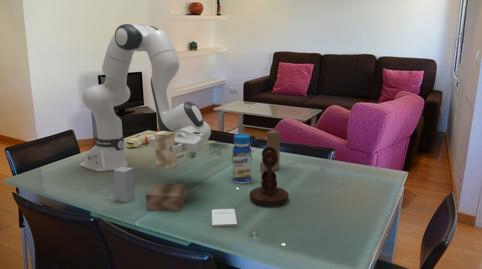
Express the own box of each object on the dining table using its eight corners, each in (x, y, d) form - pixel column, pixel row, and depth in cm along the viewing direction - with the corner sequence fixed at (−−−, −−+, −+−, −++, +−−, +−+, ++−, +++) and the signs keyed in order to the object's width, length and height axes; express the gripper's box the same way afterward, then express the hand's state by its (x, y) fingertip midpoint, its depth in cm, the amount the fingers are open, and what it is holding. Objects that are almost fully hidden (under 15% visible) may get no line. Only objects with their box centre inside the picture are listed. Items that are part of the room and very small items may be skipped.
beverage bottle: (254, 179, 185) (255, 134, 180) (246, 185, 177) (247, 138, 172) (237, 176, 188) (237, 132, 183) (228, 182, 181) (228, 136, 176)
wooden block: (267, 173, 191) (268, 134, 187) (259, 171, 194) (260, 133, 190) (279, 169, 198) (280, 131, 194) (271, 167, 201) (272, 129, 197)
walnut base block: (146, 210, 153) (146, 194, 152) (156, 197, 165) (155, 183, 163) (179, 211, 152) (179, 195, 151) (186, 198, 164) (186, 183, 162)
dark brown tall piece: (249, 192, 170) (250, 143, 165) (286, 192, 169) (288, 144, 164) (249, 207, 155) (249, 154, 150) (289, 208, 155) (291, 155, 150)
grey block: (115, 200, 161) (113, 170, 159) (124, 195, 166) (122, 166, 163) (126, 202, 159) (124, 172, 157) (134, 197, 164) (133, 168, 161)
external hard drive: (212, 229, 140) (211, 213, 152) (237, 228, 140) (234, 212, 152) (212, 224, 139) (211, 209, 151) (237, 223, 140) (234, 208, 152)
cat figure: (154, 140, 254) (121, 146, 233) (154, 126, 252) (121, 130, 232) (166, 143, 249) (133, 149, 228) (167, 128, 247) (134, 133, 227)
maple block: (156, 166, 154) (154, 133, 151) (164, 162, 158) (162, 130, 155) (168, 168, 152) (166, 135, 149) (175, 164, 156) (174, 132, 153)
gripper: (161, 129, 168) (139, 137, 156) (207, 134, 160) (187, 142, 148) (162, 144, 170) (140, 153, 157) (207, 150, 162) (188, 160, 149)
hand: (163, 148), depth 153 cm, fingers closed on maple block, 5 cm apart
